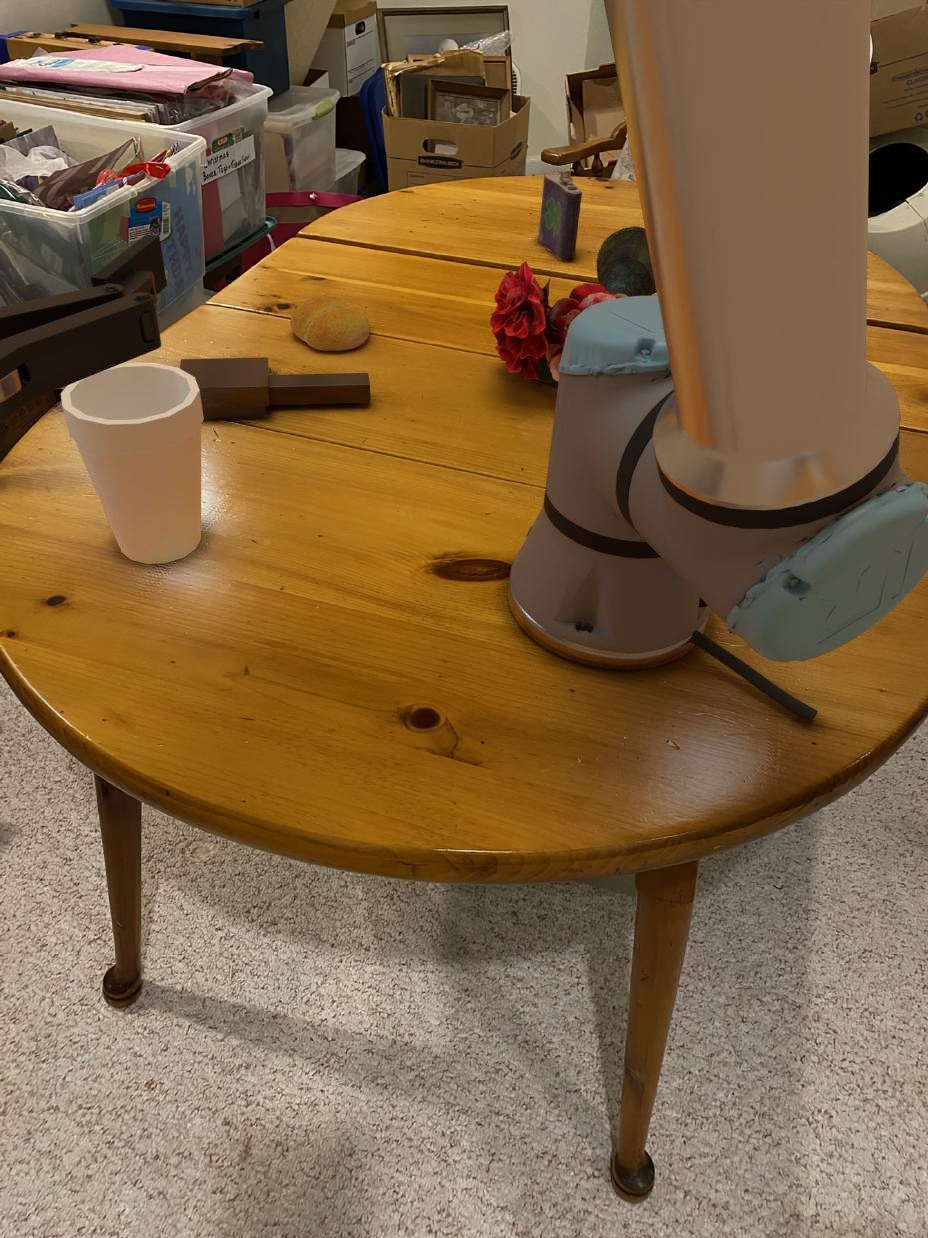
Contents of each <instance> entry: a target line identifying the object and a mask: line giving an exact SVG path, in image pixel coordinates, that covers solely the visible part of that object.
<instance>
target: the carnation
mask: <svg viewBox="0 0 928 1238" xmlns="http://www.w3.org/2000/svg"><path fill="white" fill-rule="evenodd" d="M596 274H597V275H596V276H597V280H598V283H596V282H592V283H591V282H587V283H586V282H584V283H583V284H581V285H577V286H576V287H574V288H573V289H572V290H571V291H570V294H569V296H568V297H562V298H560V299H558V300H557V301H556V302H554V304H553V305H552V306H551V305H550V299H549V296H550V283H551V279H552V277H553V276H552V275H550V277H549V279H548V280H547V282H546V284H545V285H544V286H543V287H541V285H540V284H539V283H538V281H537V279H536V278H535V276H534V273H533V269H532V268H531V267H530V266H529V264H528V262H527V260H524V261H523V262H521V264H520V268H519V269H518V270H517V271H516V272H515V273H514V272H513V270H509V271H507V272H505V274H504V276H503V278H502V280H501V281H500V284H499V286H498V289H497V292H496V293H495V294H494V297H493V299H494V302H495V303H496V307H495V309H494V311H493V312H492V313H490V316H491V317H490V319H489V325H490V327H492V329H491V333H492V334H493V336H494V338H495V340H496V345H495V351H496V352H497V353H498V354H497V355H499V360H501V361H504V362H505V366H506V370H507V373H508V374H512V373H518V374H520V376H523V377H524V379H526V380H529V381H530V380H537V381H539V382H542V383H545V384H546V383H548V384H551V383H559V375H560V373H559V372H558V365H559V363H560V360H561V356H562V352H563V348H564V344H565V340H566V336H567V332H568V328H569V326H570V324H571V322H572V321H573V320H574V319H575V318H576V317H577V316H578V315H579V314H580V313H581V312H582V311H583V310H585V309H586V308H588V307H590V306H592V305H594V304H597V303H600V302H603V301H607V300H611V299H617V298H624V297H633V296H654V295H655V294H657V291H656V286H655V280H654V275H653V269H652V264H651V258H650V253H649V247H648V242H647V236H646V231H645V227H642V226H637V225H636V226H629V227H624V228H621V229H619V230H616V231H614V232H612V233H611V234H609V236H607V237H606V238H605V239H604V241H603V242H602V244H601V246H600V248H599V250H598V252H597V257H596Z"/></svg>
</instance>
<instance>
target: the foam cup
mask: <svg viewBox="0 0 928 1238" xmlns="http://www.w3.org/2000/svg"><path fill="white" fill-rule="evenodd" d="M60 399H61V405H62V410H63V414H64V418H65V422H66V426H67V429H68V435H69V438H70V439H72V440H73V441H74V442H75V444H76V448H77V449H78V452H79V455H80V456H81V460H82V462H83V464H84V466H85V469H86V471H87V473H88V476H89V478H90V481H91V483H92V486H93V488H94V490H95V493H96V495H97V497H98V500H99V502H100V504H101V507H102V509H103V512H104V515H105V517H106V519H107V522H108V524H109V526H110V528H111V531H112V534H113V536H114V539H115V541H116V543H117V545H118V547H119V548H120V552H121V553H122V554H123V555H124V556H125V557H127V558H128V559H129V560H130V561H133V562H138V563H142V564H146V565H156V564H169V563H171V562H174V561H177V560H180V559H181V560H182V559H184V558H186V557H187V556H188V555H190V554H191V553H192V552H194V551H196V549H197V548H198V547H199V544H200V542H201V540H202V534H201V533H202V423H203V421H205V420H204V417H203V410H202V403H201V397H200V390H199V387H198V385H197V382H196V379H195V377H193V376H192V375H190V374H188V373H186V372H185V371H183V370H181V369H180V367H176V366H172V365H166V364H162V363H157V362H124V363H122V364H119V365H117V366H114V367H112V368H109V369H107V370H104V371H102V372H99V373H97V374H94V375H92V376H90V377H87V378H85V379H82V380H80V381H77V382H75V383H72V384H70V385H67V386H65V387H64V389H63V390H62V391H61V392H60Z"/></svg>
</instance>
